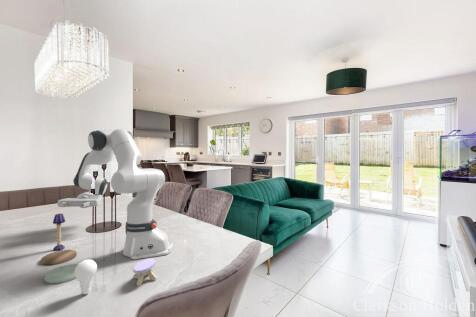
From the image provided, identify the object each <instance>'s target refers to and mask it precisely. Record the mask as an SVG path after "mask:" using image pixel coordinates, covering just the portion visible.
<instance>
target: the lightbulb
mask: <svg viewBox="0 0 476 317" xmlns="http://www.w3.org/2000/svg"><path fill="white" fill-rule="evenodd" d="M77 264H78V265H77V266H76V268H75V272H74V273H75V276H76V278H75V279H77V281H78V283H79V288H80V292H81V294H82V295H87V294H88V295H89V293H90V292H91V291H92V284H93V279H94V276H95V275H96V274H97V271H98V264H97V263H96V262H95V261H94V260H93V259H84V260H81V261H80V262H79V263H77Z"/></svg>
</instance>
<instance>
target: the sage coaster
mask: <svg viewBox="0 0 476 317" xmlns="http://www.w3.org/2000/svg"><path fill="white" fill-rule="evenodd" d="M78 264H79V263H68V264H64V265H62V266H59V267H55V268H53V269H51V270H50V271H48V272H47V273H46V274H45V275H44V282H45V284H46V283H47V284H51V285H57V284H63V283H67V282H70V281H73V280H75V279H77V278H76V276H75V273H74V272H75V268H76V266H77V265H78Z"/></svg>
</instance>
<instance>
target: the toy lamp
mask: <svg viewBox="0 0 476 317" xmlns="http://www.w3.org/2000/svg"><path fill="white" fill-rule="evenodd" d="M65 222H66V219H65V216H64V213H56V214H54V217H53V221H52V224H53V225H56V245H55V246H54V247H53V251H54V252H57V251H62V250H64V249H65V245H63V244H62V224H63V223H65Z"/></svg>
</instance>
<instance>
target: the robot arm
mask: <svg viewBox="0 0 476 317" xmlns="http://www.w3.org/2000/svg"><path fill="white" fill-rule="evenodd" d="M87 143H88V145H89V147H90V150H91V151H89V152H87V153H86V154H85V155H84V156H83V157H82V160H81V161H80V164H79V168H78V170H77V172H76V175H75V176H74V178H73V182H72V183H73V185H74V186H75V188H80V189H84V190H86V191H85V192H82V193H80V194H78V195H77V196H76V197H67V198H61V199H58V200H57V207H58V208H70V207H71V208H72V207H73V208H74V207H76V208H77V207H79V208H81V209H87V208H92V207H100V206H102V199H103V197H104V195H105V194H106V192H107V190H108V187H109V183H108V180H107V179H106V178H104V177H102V176H98V175H96V176H97V178H96V180H95V194H93V193H91V184H92V175H93V174H92V173H90V172H89V168H90V166H91V165H92V166H95V165H96V166H102V165H106V164H108V163H110V162H111V161H112V160H113V157H115V159H116V162H117V170H116V172H114V174H112V176H111V179H110V186H111V188H112V190H113V191H114V192H115V193H117V194H125V195H126V194H127V195H129V194H135V193H136V195H135V197H134V198H133V199H132V200H131V201H129V203H128V204H127V206H126V221H125V242H124V247H123V250H122V254H123V256H125V257H127V258H130V259H131V260H137V259H148V258H153V257H159V256H166V255H169V254H171V252H172V251H173V250H174V244H173V242H172V241H169V236H168V234H167V233H166V232H165V231H164V230H161V229H160V228H158V227H157V220H156V219H155V220H154V219H153V206H154V201H155V198H156V196H157V195H158V192H159V191H160V189H161V188H162V187H163V186H164V184H165V183H166V175H165V173H164V172H163V170H161V169H159V168H158V169H157V168H139V167H138V165H139V164H140V163H141V161H142V158H143V157H142V156H143V155H142V153H141V151H140V149H139V146H138V145H137V143H136V141H135V136H134V135H133V133H132V132H131V131H128V130H126V129H123V128H117V129H104V130H94V131H91V132H90V133H89V134H88V136H87Z"/></svg>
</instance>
